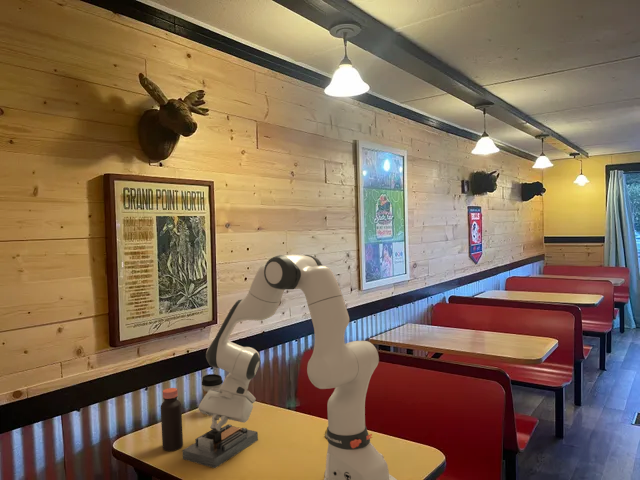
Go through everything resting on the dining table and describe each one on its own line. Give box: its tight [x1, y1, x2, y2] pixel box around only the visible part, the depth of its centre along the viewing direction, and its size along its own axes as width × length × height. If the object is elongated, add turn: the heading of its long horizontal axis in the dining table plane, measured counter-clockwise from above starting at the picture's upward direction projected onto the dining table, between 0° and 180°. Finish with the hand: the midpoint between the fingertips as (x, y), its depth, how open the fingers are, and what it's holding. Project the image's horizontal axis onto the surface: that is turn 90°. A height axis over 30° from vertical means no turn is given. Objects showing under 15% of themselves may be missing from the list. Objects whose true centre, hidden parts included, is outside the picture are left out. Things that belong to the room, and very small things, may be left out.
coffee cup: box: [201, 373, 224, 417], centre depth 199 cm, size 8×8×15 cm
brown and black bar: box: [205, 425, 243, 449], centre depth 167 cm, size 4×4×15 cm
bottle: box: [160, 387, 184, 452], centre depth 169 cm, size 7×7×20 cm
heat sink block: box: [182, 423, 259, 469], centre depth 166 cm, size 22×14×6 cm, turn 150°
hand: (214, 429), depth 163 cm, fingers closed, pressing on brown and black bar
